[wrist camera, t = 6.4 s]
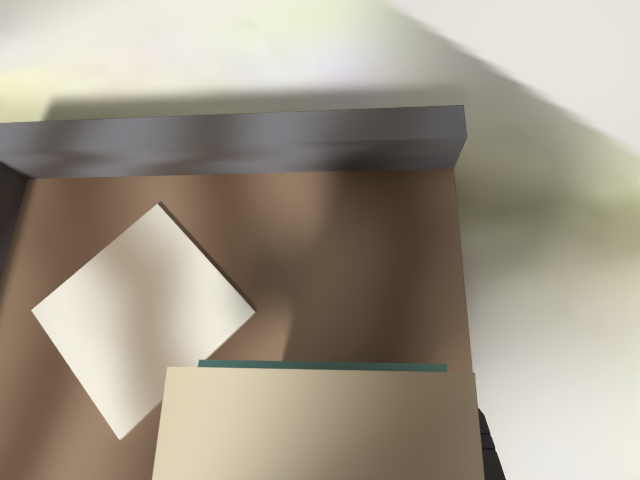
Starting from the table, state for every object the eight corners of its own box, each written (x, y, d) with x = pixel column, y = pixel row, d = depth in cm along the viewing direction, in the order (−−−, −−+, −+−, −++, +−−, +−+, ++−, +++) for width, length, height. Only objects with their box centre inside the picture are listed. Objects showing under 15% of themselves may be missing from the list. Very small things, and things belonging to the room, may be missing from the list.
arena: (-94, 570, 16) (-210, 618, 13) (23, 163, 22) (-37, 124, 19) (487, 611, 14) (526, 681, 11) (446, 150, 20) (463, 105, 17)
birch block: (270, 523, 15) (112, 772, 5) (278, 371, 16) (168, 357, 7) (413, 531, 14) (516, 819, 5) (406, 374, 16) (473, 363, 7)
